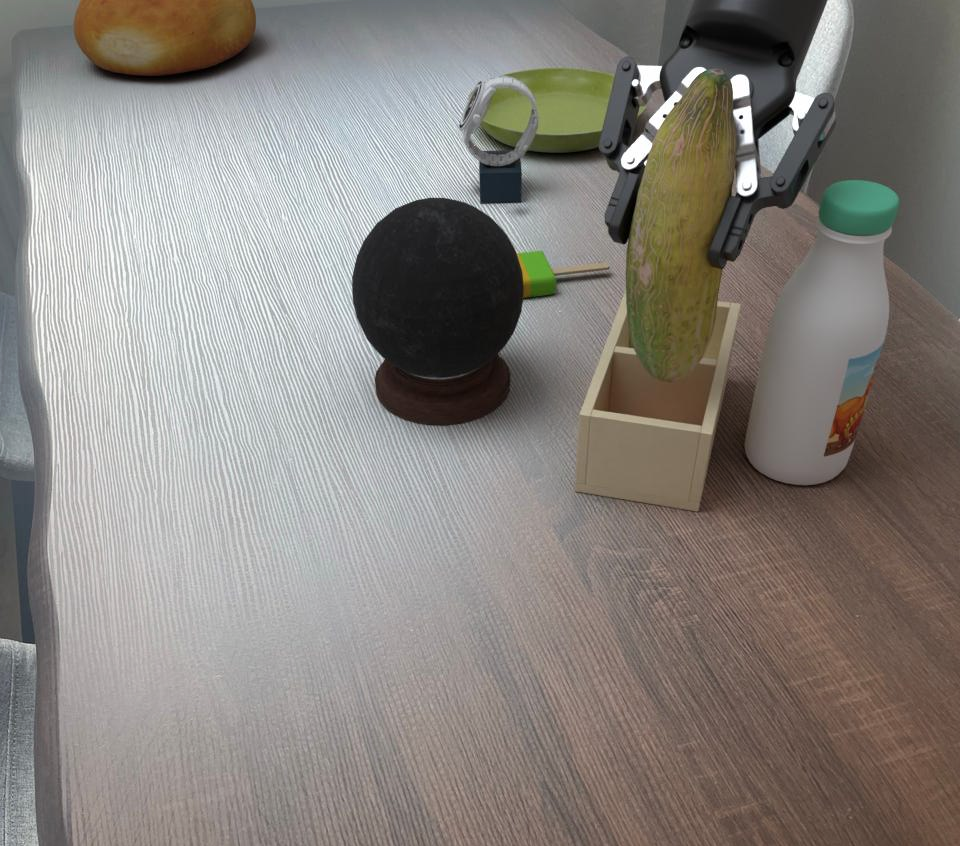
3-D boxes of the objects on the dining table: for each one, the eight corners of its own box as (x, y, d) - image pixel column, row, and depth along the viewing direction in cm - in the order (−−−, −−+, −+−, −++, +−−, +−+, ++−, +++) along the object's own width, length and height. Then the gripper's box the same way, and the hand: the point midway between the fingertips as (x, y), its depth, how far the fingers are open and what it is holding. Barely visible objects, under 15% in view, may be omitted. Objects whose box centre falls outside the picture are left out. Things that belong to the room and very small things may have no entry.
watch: (461, 181, 111) (457, 70, 103) (535, 179, 111) (537, 68, 103) (461, 204, 107) (457, 91, 99) (538, 202, 107) (540, 89, 99)
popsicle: (447, 277, 97) (446, 258, 95) (600, 261, 98) (602, 242, 97) (457, 307, 93) (456, 288, 92) (616, 289, 95) (618, 270, 93)
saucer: (681, 134, 118) (685, 104, 116) (537, 180, 111) (538, 150, 108) (571, 81, 130) (572, 53, 127) (434, 120, 122) (433, 91, 120)
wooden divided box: (727, 378, 85) (741, 303, 80) (698, 512, 73) (712, 434, 68) (618, 363, 86) (625, 289, 81) (574, 491, 75) (579, 414, 70)
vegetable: (694, 412, 69) (749, 99, 54) (604, 396, 71) (634, 86, 56) (710, 364, 73) (765, 59, 58) (624, 349, 74) (657, 47, 59)
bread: (98, 31, 146) (76, -51, 139) (263, 22, 147) (250, -60, 140) (73, 91, 131) (47, 2, 123) (257, 80, 132) (242, -9, 125)
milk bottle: (781, 500, 74) (849, 232, 59) (723, 441, 79) (772, 180, 64) (868, 471, 76) (955, 206, 61) (806, 416, 81) (873, 157, 66)
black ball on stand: (490, 446, 79) (488, 262, 68) (336, 414, 82) (310, 233, 71) (543, 357, 87) (548, 180, 76) (401, 331, 91) (386, 157, 79)
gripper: (889, 33, 62) (782, 300, 64) (670, -3, 67) (577, 246, 69) (889, -47, 55) (769, 257, 57) (644, -80, 60) (542, 200, 62)
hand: (664, 250), depth 63 cm, fingers closed on vegetable, 6 cm apart
